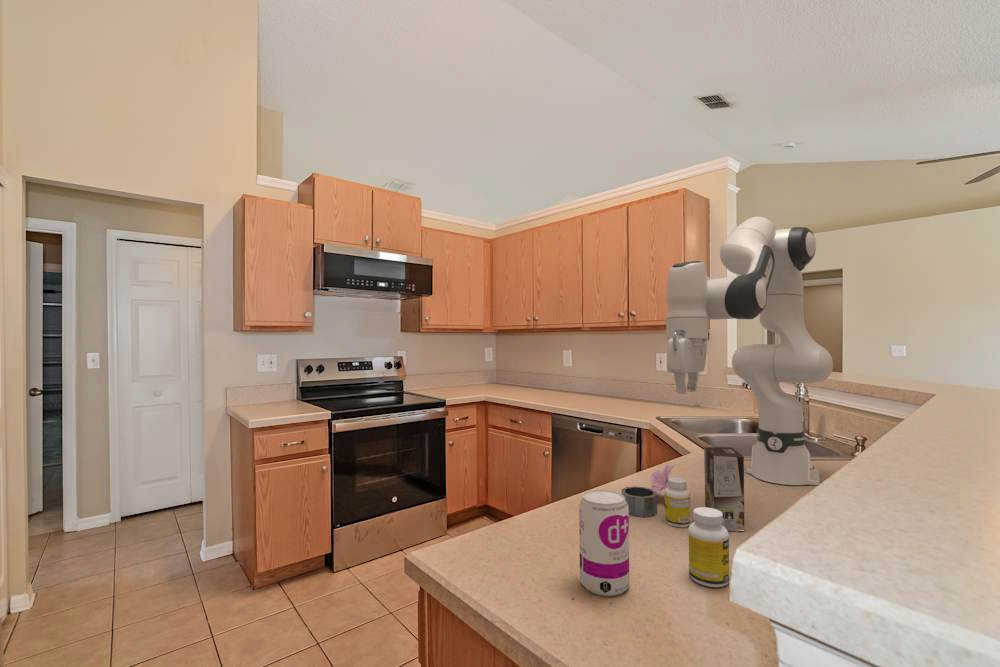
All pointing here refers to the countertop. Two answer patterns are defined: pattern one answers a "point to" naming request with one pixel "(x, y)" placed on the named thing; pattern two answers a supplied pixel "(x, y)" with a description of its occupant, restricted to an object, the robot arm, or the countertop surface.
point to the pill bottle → (708, 548)
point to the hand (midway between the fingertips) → (686, 392)
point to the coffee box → (725, 485)
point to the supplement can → (604, 542)
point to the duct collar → (640, 501)
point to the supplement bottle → (677, 503)
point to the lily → (661, 478)
